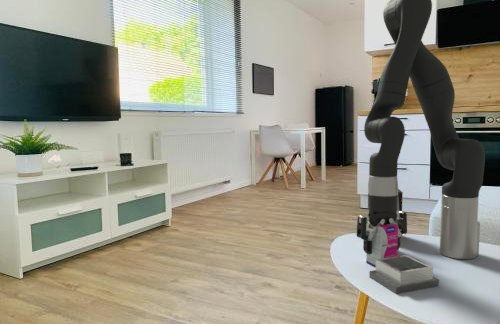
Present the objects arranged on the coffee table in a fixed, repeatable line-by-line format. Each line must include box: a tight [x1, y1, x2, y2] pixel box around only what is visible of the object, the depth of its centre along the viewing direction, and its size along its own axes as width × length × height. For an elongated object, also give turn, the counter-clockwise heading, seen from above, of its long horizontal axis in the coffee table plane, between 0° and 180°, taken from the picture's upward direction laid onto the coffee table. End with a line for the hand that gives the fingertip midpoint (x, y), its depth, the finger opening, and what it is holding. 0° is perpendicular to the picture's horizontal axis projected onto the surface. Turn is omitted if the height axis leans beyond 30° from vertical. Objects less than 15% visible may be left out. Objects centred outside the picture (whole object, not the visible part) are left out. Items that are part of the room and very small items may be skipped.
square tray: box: [368, 254, 440, 295], centre depth 94 cm, size 12×10×4 cm
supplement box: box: [365, 221, 398, 268], centre depth 105 cm, size 6×6×12 cm
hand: (381, 251), depth 105 cm, fingers open, 8 cm apart
